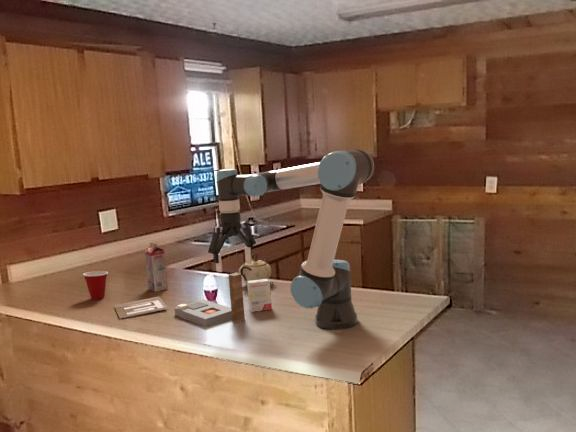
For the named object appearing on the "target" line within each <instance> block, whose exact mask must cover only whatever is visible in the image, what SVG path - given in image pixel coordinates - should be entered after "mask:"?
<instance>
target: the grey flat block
mask: <svg viewBox="0 0 576 432" xmlns="http://www.w3.org/2000/svg"><path fill="white" fill-rule="evenodd" d="M209 310H215V311H216V312H214V313H211V314H206V313H205V312H206V311H209ZM174 316H177V317H179V318H182V319H184V320H187V321H189V322H192V323H195V324H197V325H199V326H202V327H205V328H206V327H210V326H214V325H216V324H219V323H222V322H226V321H229V320H232V319H231V318H232V311H231V307H229V306H226V305H223V304H220V303H216V302H213V301H211V300H207V299H201V300H198V301H194V302H191V303H187V304H186V303H181V304H178V305H177V306H176V307H174ZM228 319H229V320H228ZM225 320H226V321H225Z"/></svg>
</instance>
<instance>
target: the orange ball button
mask: <svg viewBox="0 0 576 432" xmlns="http://www.w3.org/2000/svg"><path fill="white" fill-rule="evenodd" d="M214 312H216V311H215V310H209V311H206V312H205V313H206V314H211V313H214Z"/></svg>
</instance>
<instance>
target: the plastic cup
mask: <svg viewBox="0 0 576 432" xmlns="http://www.w3.org/2000/svg"><path fill="white" fill-rule="evenodd" d="M108 274H109V272H108V271H105V270H101V271H100V270H96V271H95V270H94V271H87V272H84V273H83V275H82V276H83V277H84V280H85V283H86V287H87V289H88V293H89V295H90V299H91V300H93V301H97V300H102V299H105V296H106V283H107V276H108Z"/></svg>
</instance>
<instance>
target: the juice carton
mask: <svg viewBox="0 0 576 432" xmlns="http://www.w3.org/2000/svg"><path fill="white" fill-rule="evenodd" d="M144 258H145V259H144V261H145V268H146V279H147V287H148V290H149V291H152V292H155V293H156V292H160V291H163V290H167V289H169V285H168V276H167V265H166V256H165V249H164V248H161V247H158V244H157V243H153V242H149V246H148V247H147V248H146V249H145V250H144Z"/></svg>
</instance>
